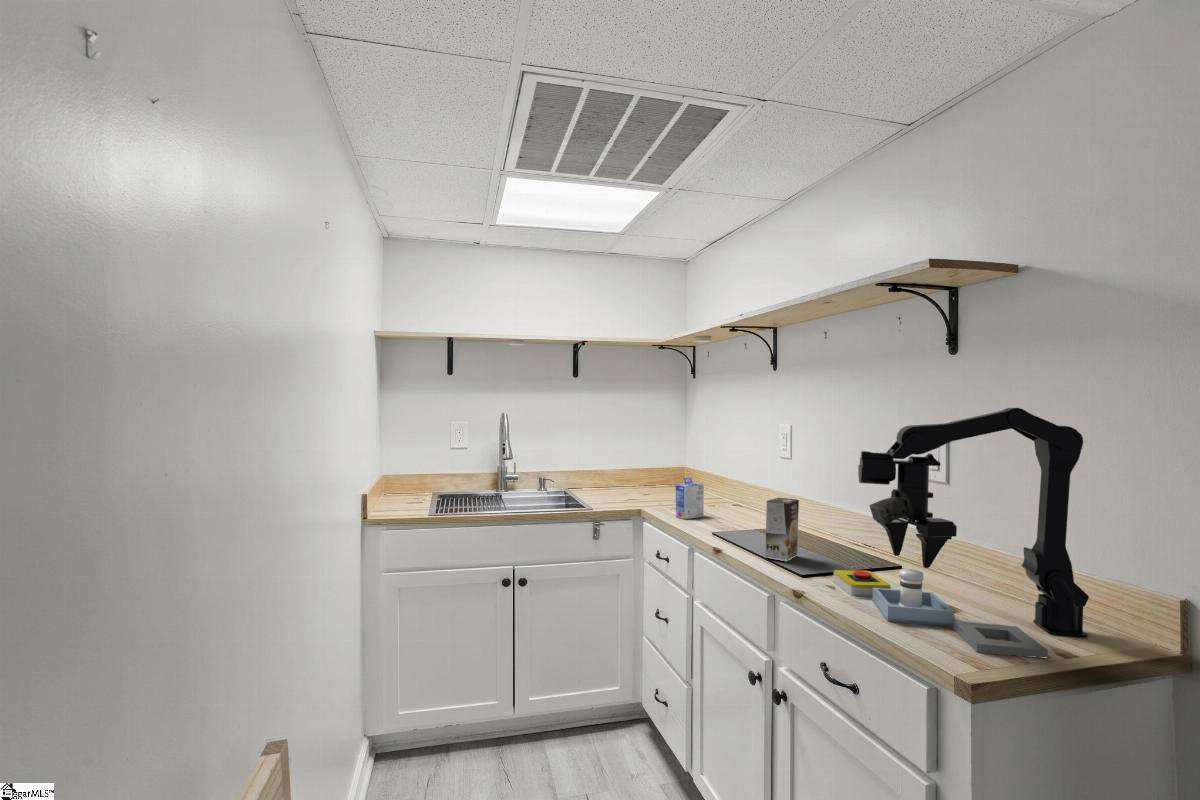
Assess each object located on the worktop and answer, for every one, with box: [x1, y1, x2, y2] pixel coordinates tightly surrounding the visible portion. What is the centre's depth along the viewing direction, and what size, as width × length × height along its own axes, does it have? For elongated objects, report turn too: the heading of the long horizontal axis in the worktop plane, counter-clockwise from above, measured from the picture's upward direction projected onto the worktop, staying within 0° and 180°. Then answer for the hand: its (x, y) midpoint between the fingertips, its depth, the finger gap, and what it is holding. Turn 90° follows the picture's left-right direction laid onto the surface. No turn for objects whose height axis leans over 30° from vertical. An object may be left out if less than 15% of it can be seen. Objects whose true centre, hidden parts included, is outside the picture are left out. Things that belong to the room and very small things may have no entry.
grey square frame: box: [952, 620, 1049, 658], centre depth 108 cm, size 11×11×2 cm
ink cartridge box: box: [675, 477, 705, 520], centre depth 220 cm, size 10×6×14 cm, turn 124°
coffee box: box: [764, 497, 800, 560], centre depth 165 cm, size 9×6×16 cm
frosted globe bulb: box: [898, 568, 924, 608], centre depth 123 cm, size 4×4×8 cm
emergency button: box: [829, 569, 892, 600], centre depth 139 cm, size 9×4×15 cm
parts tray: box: [872, 588, 955, 628], centre depth 123 cm, size 12×12×3 cm
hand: (910, 561), depth 123 cm, fingers open, 9 cm apart
